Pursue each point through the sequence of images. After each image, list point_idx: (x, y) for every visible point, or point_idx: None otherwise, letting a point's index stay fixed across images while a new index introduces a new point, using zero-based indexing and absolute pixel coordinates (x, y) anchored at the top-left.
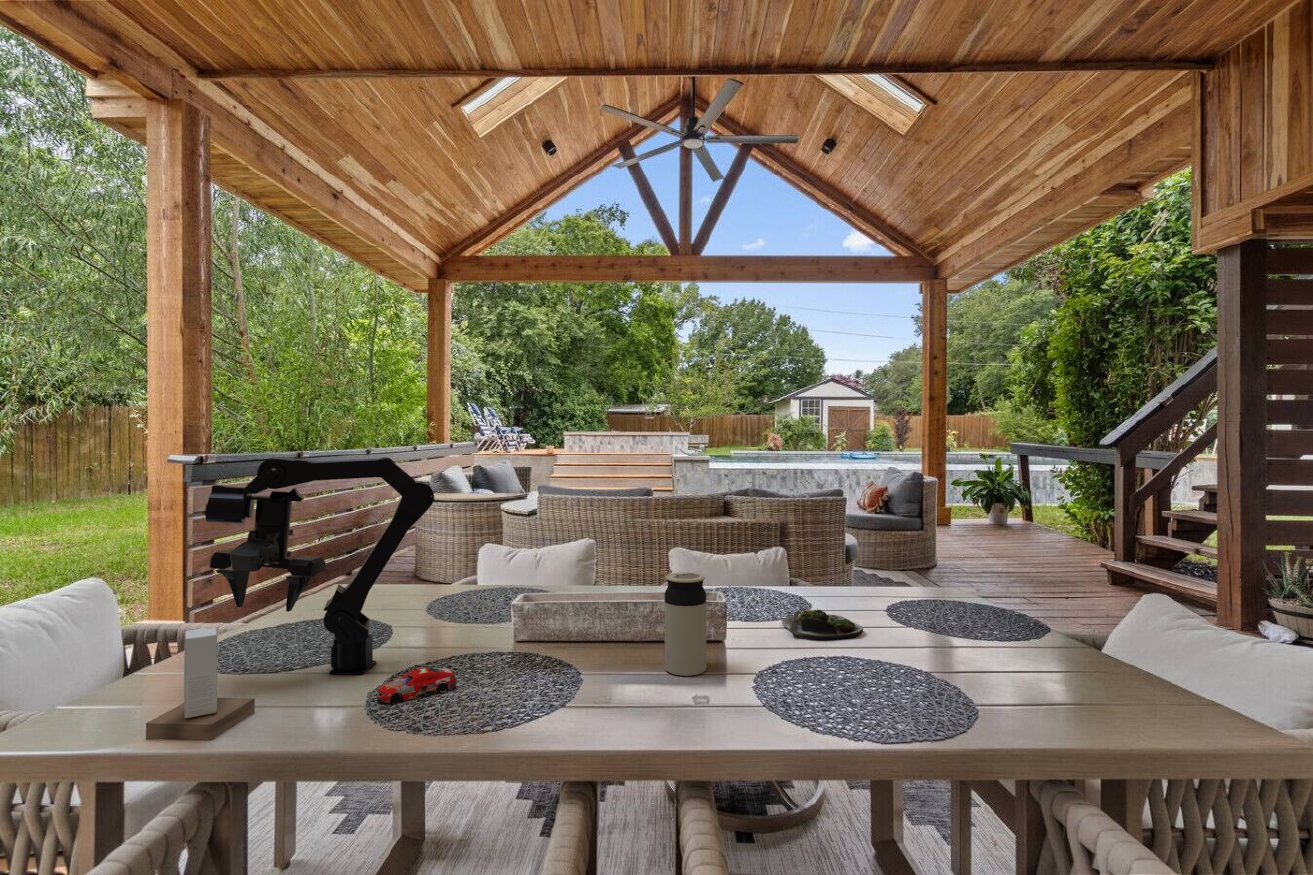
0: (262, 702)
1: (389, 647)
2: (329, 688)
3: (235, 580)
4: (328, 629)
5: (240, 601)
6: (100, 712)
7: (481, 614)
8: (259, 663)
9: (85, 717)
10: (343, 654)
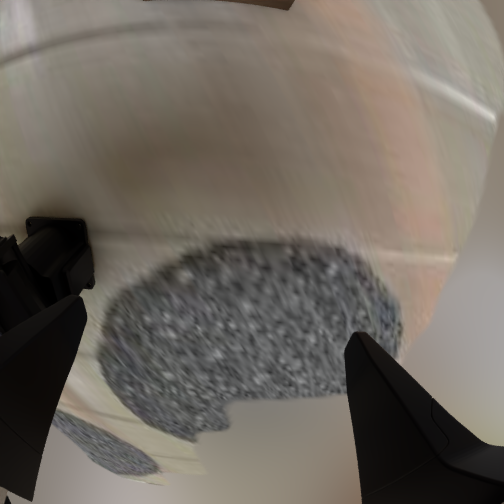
0: (149, 47)
1: (79, 352)
2: (47, 138)
3: (440, 457)
4: (14, 263)
5: (358, 358)
6: (455, 71)
7: (67, 427)
8: (284, 301)
9: (462, 56)
10: (37, 242)
